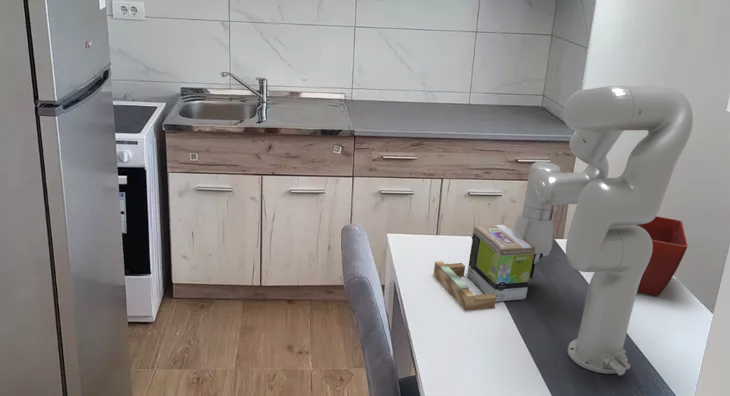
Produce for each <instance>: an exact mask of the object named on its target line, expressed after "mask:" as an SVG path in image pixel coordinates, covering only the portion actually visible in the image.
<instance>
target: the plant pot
mask: <svg viewBox="0 0 730 396" xmlns="http://www.w3.org/2000/svg"><path fill="white" fill-rule="evenodd" d="M637 226H640V227H642V228H643V229H645V230H646V231H647V232H648V234H649V235H650V237H651V239H652V244H653V250H652V255H651V258H650V261H649V263H648V265H647V267H646V269H645V271H644V273H643V275H642V278H641V280H640V283H639V286H638V290H637V293H641V294H645V295H650V296H655V297H657V296H661V294H662V293H663V291H664V290H665V289H666V287H667V286H668V285H669V283H670V281H672V278H673V277H674V275H675V273H676V272H677V270H678V268H679V267H680V265H681V264H680V263H682V260H683V258H684V255H685V253H686V252H687V248H688V247H689V246H688V242H687V238H686V234H685V229H684V225H683V222H682V220H679V219H674V218H667V217H663V216H658V215H656V217H655V218H654V219H653V220H652V221H651V222H649V223H646V224H640V225H637Z"/></svg>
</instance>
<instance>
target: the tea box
mask: <svg viewBox="0 0 730 396" xmlns="http://www.w3.org/2000/svg"><path fill="white" fill-rule="evenodd" d="M513 229H514V228H512V227H510V226H509V225H507V224H494V225H492V224H491V225H487V224H486V225H475V226H474V228H473V233H472V241H471V248H470V253H469V260H468V265H467V273H466V276H467V277H468V278H470V279H469V280H471V281H472V282H473V283H474V284H475V285H476V286H477V287H478V288H479V289H480V290H481V291H482V292H483V294H489V293H493V294H494V295H495V296H496V302H507V301H518V300H525V299H526V298H527V293H528V288H529V283H530V279H531V278H530V272H531V268H532V262H533V257H534V251H535V246H533V245H532V244H531V243H530V242H528V241H525V240H520V239H519V238H518V237H517V236H515V235H513V234H512V233H513Z"/></svg>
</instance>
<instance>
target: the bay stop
mask: <svg viewBox="0 0 730 396" xmlns="http://www.w3.org/2000/svg"><path fill="white" fill-rule="evenodd" d="M465 270H466V265H465V264H463V262H455V263H445V262H443V261H442V260H440V261H435V262H434V268H433V277H434V278H435V279H436V280H437V281H438V282H439V283H440V285H442V286H443V288H444V290H446V291H447V292H448V293H449V294H450V296H451V297H452V296H453V297H454V298H455V299H456V300H457V301H458V302H459V303H458V302H457V301H456V300H455V299H454V298H453V297H452V298H453V299H454V300H455V301H456V302H457V303H458V304H459V305H461V306H462V307H463V308H464V309H465V310H466V311H465V310H464V309H463V308H462V307H461V306H460V307H461V308H462V309H463V310H464V311H465V312H468V311H467V310H470V311H477V309H478V311H479V309H480V310H486V309H487V310H488V309H495V308H496V304H497V303H496V302H497V301H496V296H495V295H494V294H493V293H489V294H485V293H482V294H479V293H478V294H474V293H473V292H472V291H471V290H470V288H469V286H468V285H467V283H465V282H464V281H463V280H462V278H460V277H459V276H462V277H464V276H465Z"/></svg>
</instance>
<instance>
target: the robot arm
mask: <svg viewBox="0 0 730 396" xmlns="http://www.w3.org/2000/svg"><path fill="white" fill-rule="evenodd" d="M693 117H694V116H693V109H692V105H691V103H690V102H689V99H688V98H687V97H686V96H685V95H684V93H682V92H681V91H678V90H677V89H673V88H670V87H663V86H648V85H647V86H644V85H643V86H641V85H640V86H635V85H610V86H609V85H608V86H601V87H592V88H586V89H579V90H577V91H575V92H574V93H572V94H571V95H570V96H569V97H568V99H567V100H566V102H565V104H564V108H563V120H564V123H565V125H566V126H567V128H569V129H571V130H572V131H574V133H573V134H572V135H571V137H570V138H569V143H568V145H569V149H570V151H571V152H572V154H573V155H574V156H575V157H576V158H577V159H578V160H580V161H581V162H583V163H584V164H586V167H585V168H584V169H583V171H582V172H562V171H561V168H560V166H559V165H557V164H555V163H551V162H548V161H537V162H534V163H532V164H531V166H530V168H529V172H528V173H529V174H528V178H527V184H526V189H525V190H526V191H525V196H524V201H523V207H522V212H521V213H519V214H518V215H517V218H516V221H515V224H514V226H513V228H512V229H513V233H512V234H513V235H515V236H517V237H518V238H519V239H520V240H525V241H528V242H530V243H531V244H532V245H533V246H535V251H534V257H533V262H532V268H531V272H530V278H529V279H533V275H534V272H535V268H536V265H537V264H538V263H539V261H540V260H541V259H542V258H543V257H545V256H548V255H550V251H551V250H552V248H553V245H554V239H555V224H556V223H555V217H554V213H555V212H557V211H558V206H561V205H576V206H575V210H574V213H573V217H572V219H571V223H570V227H569V230H568V234H567V237H566V242H565V255H566V260H567V262H568V264H569V265H570V266H571V268H573V269H574V270H575V271H578V272H581V273H582V272H583V273H593V274H592V276H591V278H590V281H589V284H588V288H587V294H586V298H585V301H584V302H585V303H584V307H583V312H582V316H581V321H580V326H579V331H578V334H577V338H575V339H573V340H571V341H570V342H569V343H568V346H567V354H568V356H569V358H570V359H571V360H572V361H573V362H574V363H576V365H578V366H580V367H581V368H584V369H585V370H589V371H590V372H591V371H592V372H595V373H599V374H608V375H609V374H612V375H613V374H617V375H618V376H622V375H624V374H625V372H626V371H627V370H629V369H630V368H631V364H630V363H629V362H628V357H627V355H626V352H627V351H626V350H625V349H624V345H625V342H626V336H627V332H628V329H629V324H630V320H631V315H632V312H633V309H634V304H635V301H636V297H637V294H638V292H637V290H638V286H639V283H640V280H641V278H642V275H643V273H644V271H645V269H646V267H647V265H648V263H649V261H650V258H651V255H652V250H653V244H652V239H651V237H650V235H649V234H648V232H647V231H646V230H645V229H643V228H642V227H640V226H637V225H640V224H646V223H649V222H651V221H652V220H653V219H654V218H655V217H656V216H658V213H659V211H660V208H661V206H662V204H663V201H664V198H665V196H666V192H667V190H668V187H669V184H670V182H671V179H672V176H673V172H674V171H675V170H674V169H675V168H676V167H675V166H676V165H677V162H678V160H679V158H680V157H681V155H682V153H683V151H684V149H685V147H686V145H687V143H688V142H689V138H690V137H691V134H692V130H693V129H692V128H693V123H694V122H693V121H694V119H693ZM624 131H638V132H639V131H647V132H648V133H647V134H646V135H645V136H644V137H643V138H642V139H641V140H640V141H639V142H638V143H637V144H636V145H635V147H633V149H632V150H631V152H630V153H629V156H628V158H627V162H626V165H625V168H624V169H623V170H624V171H623V172H622V174H621V175H620V176H618V177H609V170H610V169H609V167H610V166H609V161H608V158H607V155H608V154H609V152H610V151H611V149H612V148H613V147H614V145H615V144H616V142H617V141H618V139H620V137H621V135H622V134H623V133H624Z"/></svg>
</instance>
